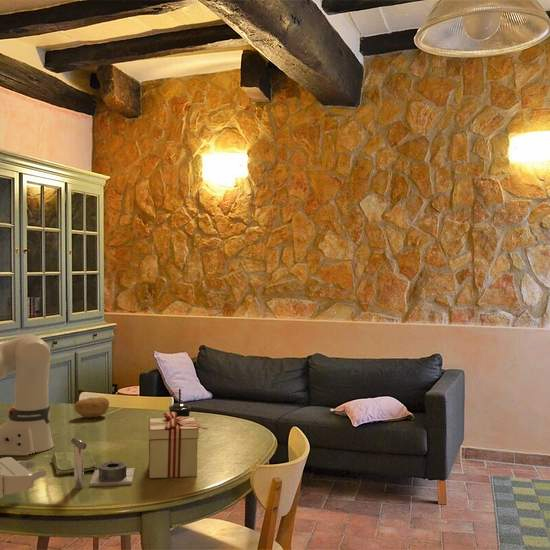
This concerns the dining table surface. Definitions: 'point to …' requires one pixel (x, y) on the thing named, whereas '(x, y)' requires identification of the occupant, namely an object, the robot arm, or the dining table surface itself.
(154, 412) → the dining table surface
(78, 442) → the chuck key
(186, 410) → the drinking cup
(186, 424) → the gift box
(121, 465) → the chuck socket
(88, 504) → the dining table surface
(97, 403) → the potato
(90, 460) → the washcloth
